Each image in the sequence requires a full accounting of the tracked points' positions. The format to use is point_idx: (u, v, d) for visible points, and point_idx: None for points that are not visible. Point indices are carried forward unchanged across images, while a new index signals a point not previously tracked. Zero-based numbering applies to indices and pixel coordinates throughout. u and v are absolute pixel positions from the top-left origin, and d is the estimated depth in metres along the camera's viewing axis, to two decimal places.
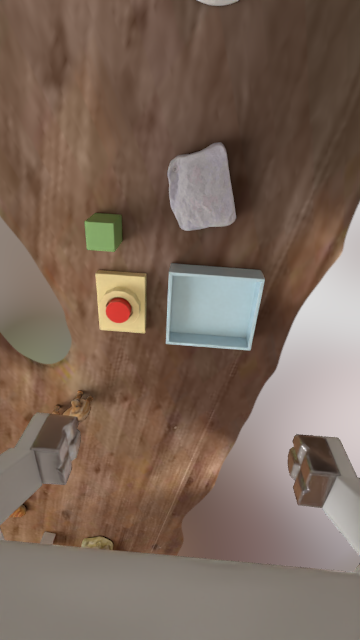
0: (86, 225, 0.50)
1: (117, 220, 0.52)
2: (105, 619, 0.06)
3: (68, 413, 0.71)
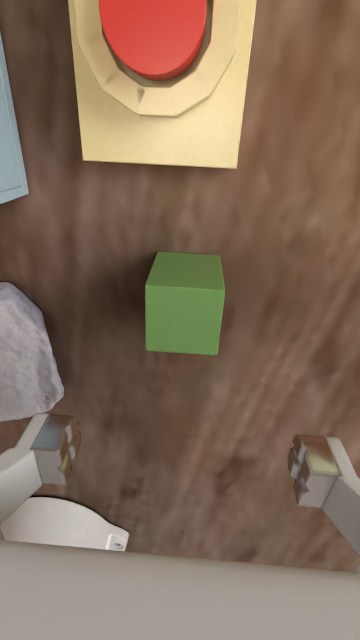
0: (213, 347, 0.20)
1: None
2: (105, 619, 0.06)
3: None
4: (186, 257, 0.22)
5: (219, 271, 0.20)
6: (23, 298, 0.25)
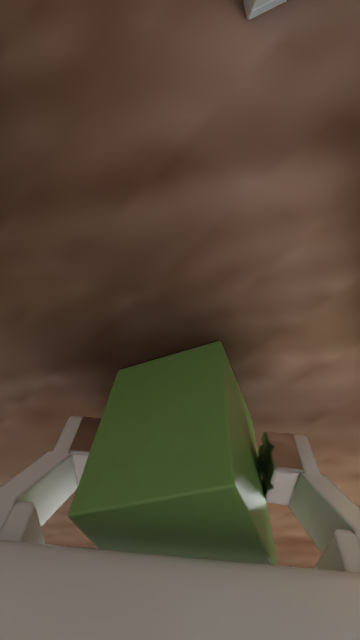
0: None
1: (100, 431, 0.11)
2: (105, 619, 0.06)
3: None
4: (239, 396, 0.13)
5: None
6: None
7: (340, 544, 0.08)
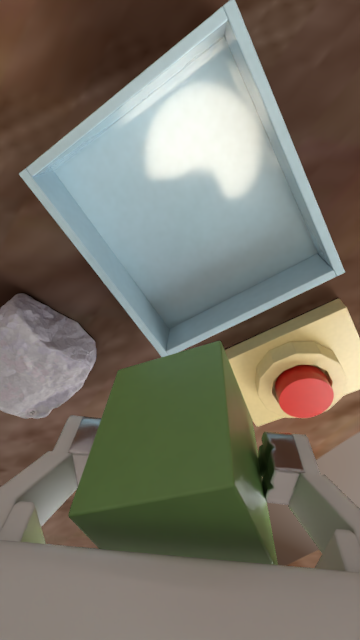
0: None
1: (100, 431, 0.11)
2: (105, 619, 0.06)
3: None
4: (239, 396, 0.13)
5: None
6: None
7: (340, 544, 0.08)
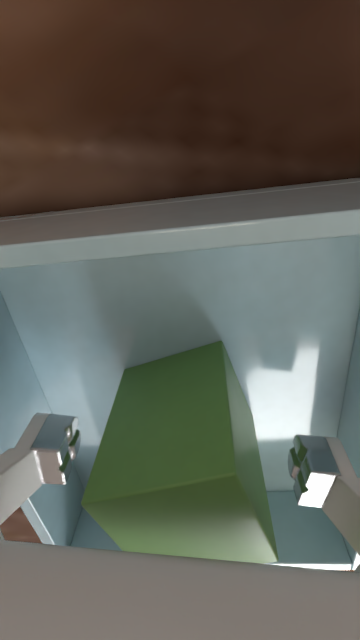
0: None
1: (108, 427, 0.11)
2: (105, 619, 0.06)
3: None
4: (240, 394, 0.13)
5: (263, 476, 0.12)
6: None
7: None
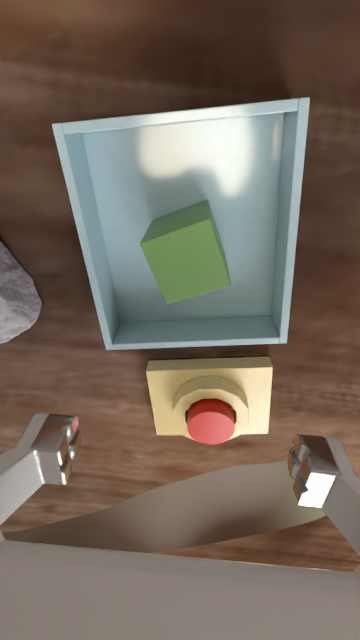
0: (173, 299, 0.22)
1: (148, 230, 0.22)
2: (105, 619, 0.06)
3: None
4: (217, 229, 0.24)
5: (227, 266, 0.23)
6: None
7: None
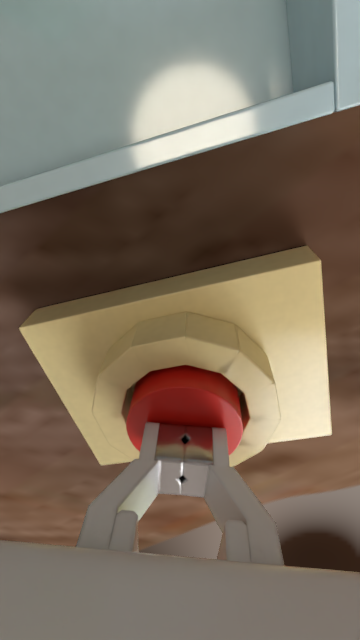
0: None
1: None
2: (105, 619, 0.06)
3: None
4: None
5: None
6: None
7: (229, 534, 0.08)
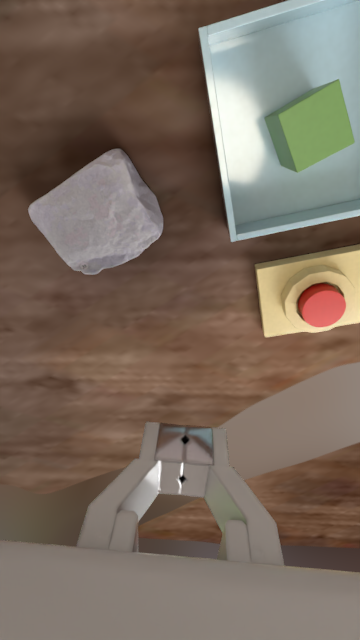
0: (303, 165, 0.26)
1: (272, 115, 0.26)
2: (105, 619, 0.06)
3: None
4: None
5: None
6: None
7: (229, 534, 0.08)
